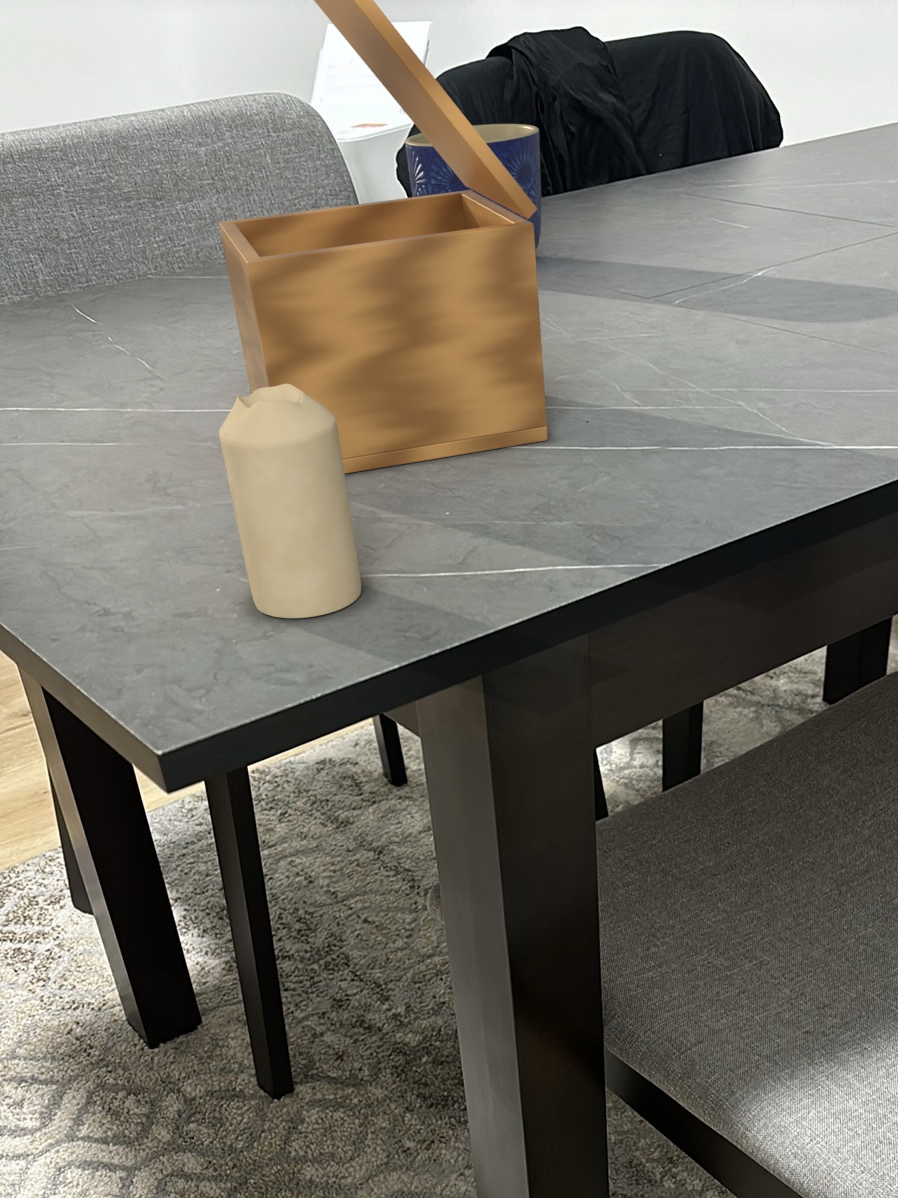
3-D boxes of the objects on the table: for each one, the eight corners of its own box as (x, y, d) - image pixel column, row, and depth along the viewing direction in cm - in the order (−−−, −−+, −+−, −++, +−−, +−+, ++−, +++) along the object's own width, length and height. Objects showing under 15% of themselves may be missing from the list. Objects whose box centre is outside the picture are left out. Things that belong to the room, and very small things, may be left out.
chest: (286, 483, 85) (246, 261, 77) (255, 420, 96) (218, 222, 89) (548, 440, 88) (533, 223, 81) (488, 384, 100) (470, 189, 92)
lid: (302, -63, 70) (370, -147, 69) (263, -61, 81) (321, -132, 80) (528, 220, 80) (590, 151, 79) (465, 186, 92) (519, 126, 91)
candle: (357, 615, 68) (323, 404, 62) (245, 623, 68) (201, 413, 62) (367, 573, 72) (337, 371, 66) (263, 580, 73) (223, 380, 66)
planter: (408, 261, 138) (393, 134, 131) (528, 245, 140) (519, 119, 133) (433, 284, 128) (418, 149, 121) (562, 267, 130) (554, 133, 123)
